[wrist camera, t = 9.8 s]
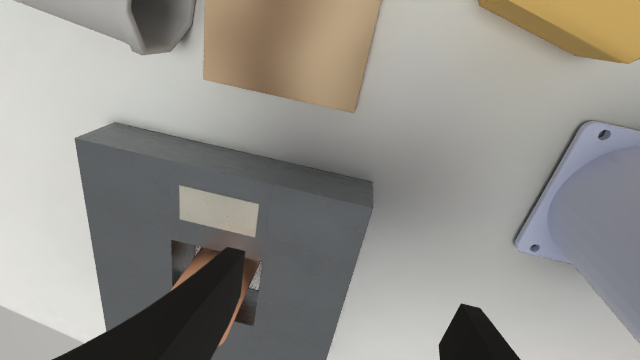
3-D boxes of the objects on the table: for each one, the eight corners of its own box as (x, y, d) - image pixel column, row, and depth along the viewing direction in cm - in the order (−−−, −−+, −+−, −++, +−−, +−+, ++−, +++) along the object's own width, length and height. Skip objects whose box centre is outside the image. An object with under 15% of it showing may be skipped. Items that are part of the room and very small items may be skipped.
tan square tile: (398, -75, 14) (400, -82, 13) (355, 108, 17) (354, 113, 17) (218, -111, 14) (207, -120, 13) (211, 76, 18) (203, 79, 17)
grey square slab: (372, 182, 19) (372, 209, 16) (321, 354, 26) (315, 393, 24) (114, 122, 20) (73, 138, 17) (133, 306, 27) (106, 339, 24)
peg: (263, 237, 22) (229, 308, 17) (257, 280, 24) (225, 356, 19) (206, 224, 22) (154, 290, 17) (205, 267, 24) (158, 339, 19)
